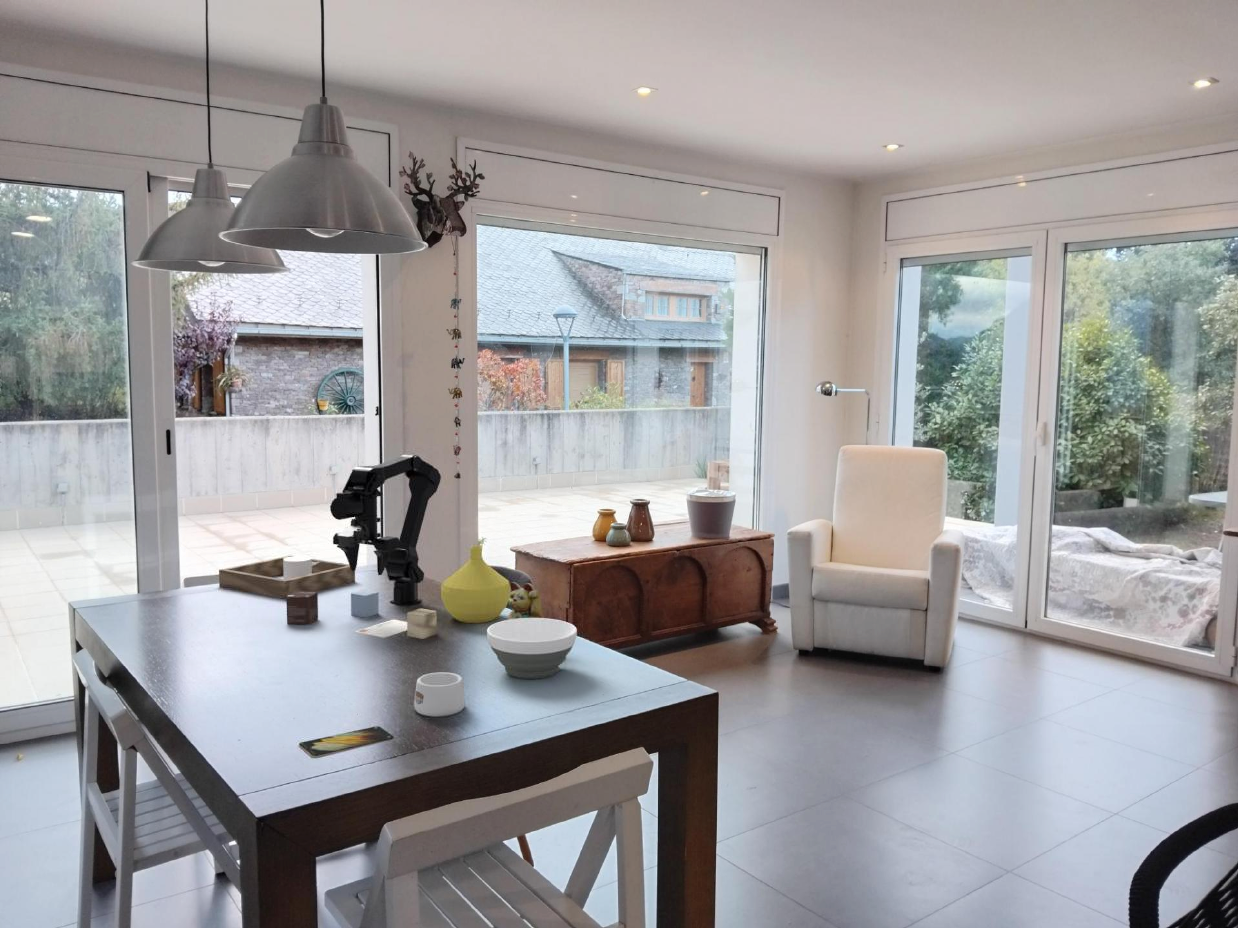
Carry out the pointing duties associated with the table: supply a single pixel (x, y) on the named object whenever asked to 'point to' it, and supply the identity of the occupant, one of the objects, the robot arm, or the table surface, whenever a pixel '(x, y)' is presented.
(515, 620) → the bowl
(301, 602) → the box
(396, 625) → the letter
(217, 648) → the table surface
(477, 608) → the vase
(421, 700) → the mug
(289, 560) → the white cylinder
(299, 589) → the wooden tray
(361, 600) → the cube
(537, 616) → the decorative figurine
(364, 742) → the smartphone
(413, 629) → the block
